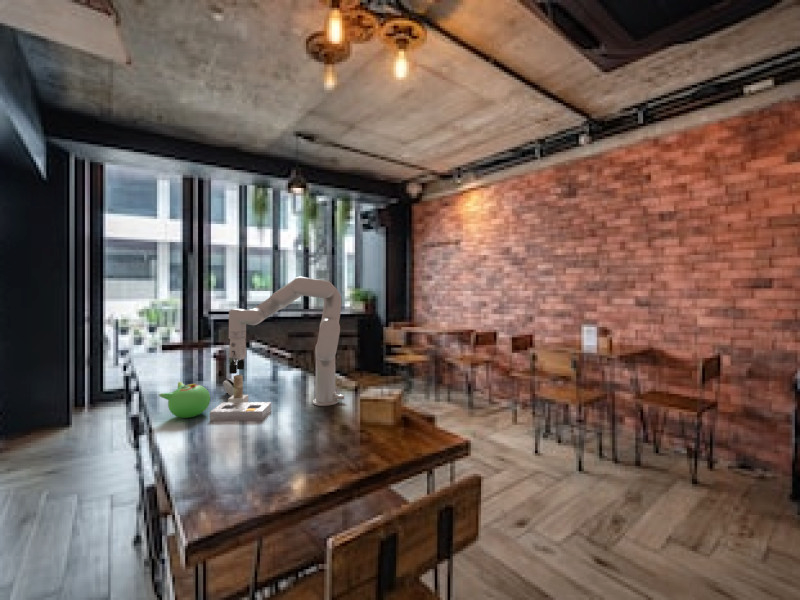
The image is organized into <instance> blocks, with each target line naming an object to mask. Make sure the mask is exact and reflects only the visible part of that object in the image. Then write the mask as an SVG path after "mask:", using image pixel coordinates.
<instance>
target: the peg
mask: <svg viewBox="0 0 800 600" xmlns="http://www.w3.org/2000/svg"><path fill="white" fill-rule="evenodd" d="M243 377H244V375H242V374H234V375H233V380H234V398H241V397H243V394H244V391H243V390H244V384H243V383H244V381H243V380H244V378H243Z"/></svg>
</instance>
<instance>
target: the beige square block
mask: <svg viewBox="0 0 800 600" xmlns="http://www.w3.org/2000/svg"><path fill="white" fill-rule="evenodd" d="M237 402H249V394H244V395H243V397H241V398H234V395H233V396H229V398H228V399H227V403H237Z"/></svg>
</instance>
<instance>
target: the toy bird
mask: <svg viewBox="0 0 800 600" xmlns="http://www.w3.org/2000/svg"><path fill="white" fill-rule="evenodd" d="M158 396H159V397H160V398H162V399H165V400H167V401H168V402H167V405H168V406H167V407H168V410H169V412H170V413H171V414H172V415H174V416H175V417H177V418H182V419H189V418H194V417H196V416H199V415H201V414H202V413H204V412H205V411H206V410H207V409H208V407H209V405H210V402H211V395H210V392H209V391H208V389H207V388H206V387H204V386H202V385H200V384H197V383H190V384H189V383H188V384H184V383H183V382H182V381H178V383H177V388H176V389H175V390H174V391H173V392H161V393H159V394H158Z"/></svg>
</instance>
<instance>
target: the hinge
mask: <svg viewBox="0 0 800 600" xmlns="http://www.w3.org/2000/svg"><path fill="white" fill-rule="evenodd" d="M222 385H223V387H224V390H225V394H227V393H228V395H229V397H231V396H233V395H234V378H228V379H227V380H226V379H225V380H224V381H222ZM243 395H245V394H244V393H243Z"/></svg>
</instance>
